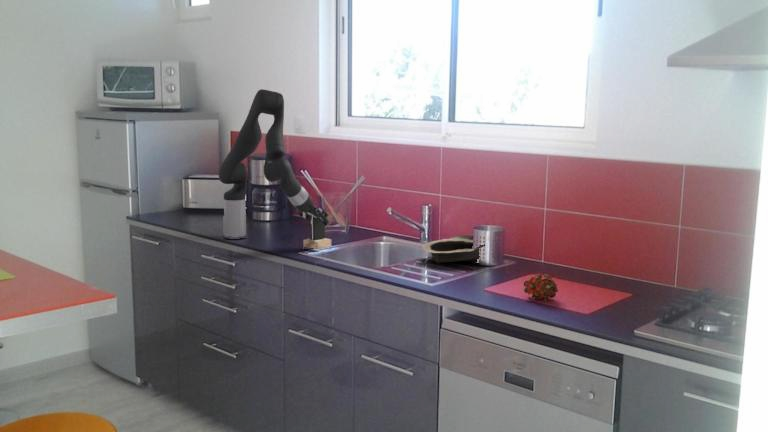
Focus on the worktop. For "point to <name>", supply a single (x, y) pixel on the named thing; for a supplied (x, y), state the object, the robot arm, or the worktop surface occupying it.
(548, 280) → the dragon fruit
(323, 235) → the battery
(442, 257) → the stone bowl
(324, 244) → the oak slab
